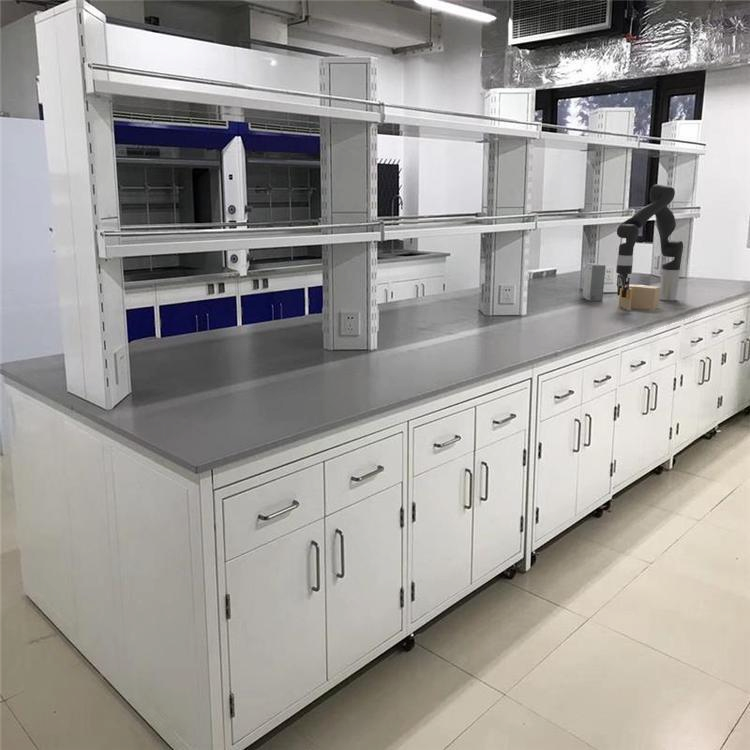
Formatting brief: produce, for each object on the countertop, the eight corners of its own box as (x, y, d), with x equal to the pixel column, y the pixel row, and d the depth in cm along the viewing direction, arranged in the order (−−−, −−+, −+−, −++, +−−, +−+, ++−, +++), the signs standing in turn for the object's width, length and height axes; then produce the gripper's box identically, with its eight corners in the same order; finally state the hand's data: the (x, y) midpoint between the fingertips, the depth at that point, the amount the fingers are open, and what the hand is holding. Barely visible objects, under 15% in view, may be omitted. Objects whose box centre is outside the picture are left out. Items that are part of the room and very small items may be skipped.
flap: (620, 305, 382) (622, 285, 380) (630, 310, 367) (632, 289, 364) (611, 305, 382) (612, 284, 380) (620, 310, 367) (622, 289, 364)
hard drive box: (602, 301, 400) (606, 265, 395) (589, 301, 400) (592, 265, 395) (595, 297, 415) (598, 262, 410) (581, 297, 415) (584, 262, 410)
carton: (625, 304, 391) (627, 283, 388) (658, 307, 380) (660, 286, 377) (619, 306, 384) (620, 285, 381) (653, 309, 373) (655, 288, 370)
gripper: (636, 265, 357) (633, 298, 361) (628, 262, 371) (625, 294, 375) (621, 265, 357) (618, 298, 362) (613, 262, 371) (610, 294, 375)
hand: (621, 296), depth 368 cm, fingers open, 7 cm apart
